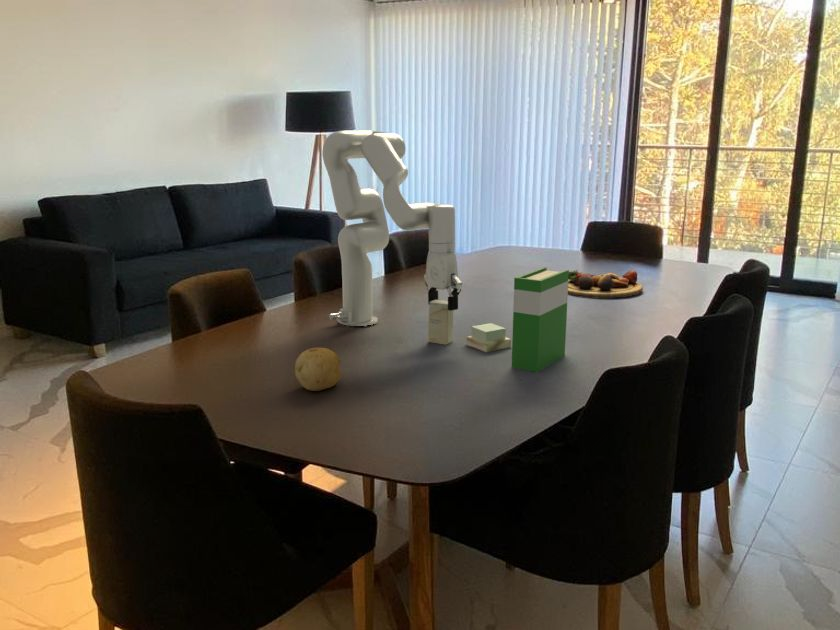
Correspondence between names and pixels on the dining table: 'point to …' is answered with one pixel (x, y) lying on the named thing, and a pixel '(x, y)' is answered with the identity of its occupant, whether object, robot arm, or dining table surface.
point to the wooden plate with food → (603, 285)
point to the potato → (318, 369)
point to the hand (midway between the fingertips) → (443, 307)
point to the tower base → (488, 344)
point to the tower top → (488, 332)
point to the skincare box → (440, 322)
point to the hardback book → (539, 318)
